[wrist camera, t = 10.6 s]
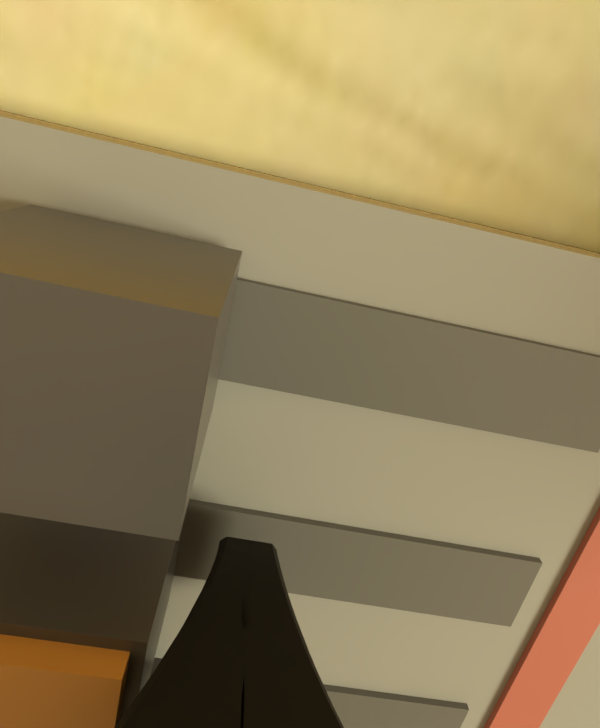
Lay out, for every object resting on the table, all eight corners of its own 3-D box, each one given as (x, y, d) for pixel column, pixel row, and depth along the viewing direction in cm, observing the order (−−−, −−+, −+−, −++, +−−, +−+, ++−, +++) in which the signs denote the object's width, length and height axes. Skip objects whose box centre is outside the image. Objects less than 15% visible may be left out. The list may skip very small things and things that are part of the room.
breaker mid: (169, 599, 11) (117, 809, 8) (7, 575, 11) (-125, 784, 7) (189, 486, 10) (140, 670, 7) (11, 456, 10) (-140, 633, 6)
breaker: (212, 408, 10) (178, 540, 6) (23, 372, 9) (-111, 495, 6) (242, 250, 9) (218, 318, 5) (31, 204, 8) (-125, 245, 5)
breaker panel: (567, 763, 16) (591, 816, 15) (-167, 672, 14) (-212, 725, 13) (851, 313, 11) (925, 336, 10) (-247, 51, 9) (-338, 37, 7)
